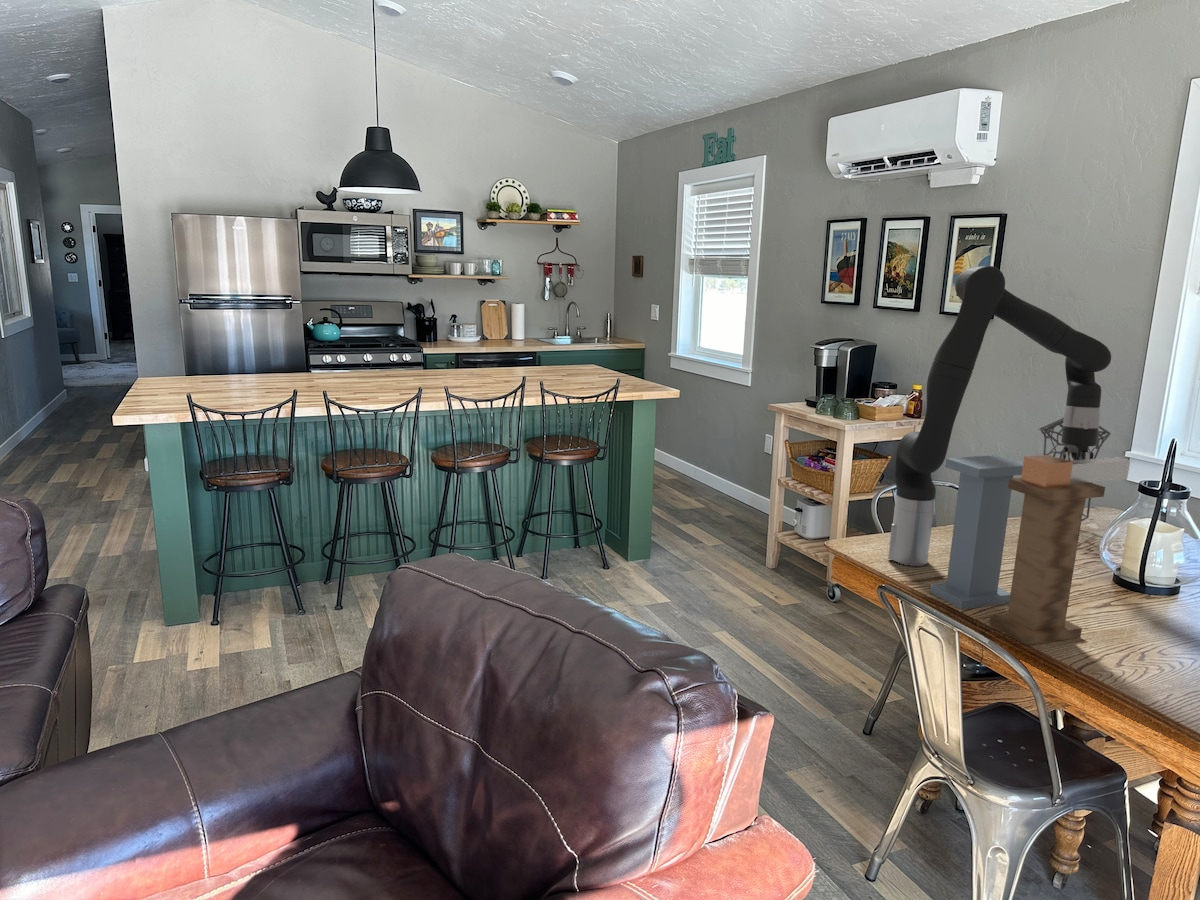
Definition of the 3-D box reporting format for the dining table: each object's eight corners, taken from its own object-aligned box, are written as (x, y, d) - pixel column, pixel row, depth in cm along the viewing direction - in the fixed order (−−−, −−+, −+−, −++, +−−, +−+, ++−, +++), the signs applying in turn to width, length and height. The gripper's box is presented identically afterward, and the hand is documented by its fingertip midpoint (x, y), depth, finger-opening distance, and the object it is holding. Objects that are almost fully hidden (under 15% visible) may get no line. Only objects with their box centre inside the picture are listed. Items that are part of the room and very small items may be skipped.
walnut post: (1040, 617, 176) (1062, 474, 169) (1080, 637, 166) (1105, 487, 159) (989, 624, 171) (1009, 478, 164) (1026, 645, 162) (1049, 491, 155)
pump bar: (1107, 474, 170) (1111, 450, 169) (1133, 481, 164) (1138, 457, 163) (1020, 480, 163) (1024, 456, 162) (1045, 488, 157) (1049, 463, 156)
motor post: (978, 586, 192) (996, 455, 185) (1011, 602, 183) (1031, 465, 176) (930, 592, 188) (946, 458, 181) (961, 609, 179) (979, 469, 172)
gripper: (1054, 422, 204) (1047, 485, 206) (1073, 426, 190) (1066, 494, 192) (1087, 424, 202) (1080, 488, 204) (1109, 428, 189) (1101, 497, 191)
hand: (1073, 491), depth 198 cm, fingers open, 8 cm apart
